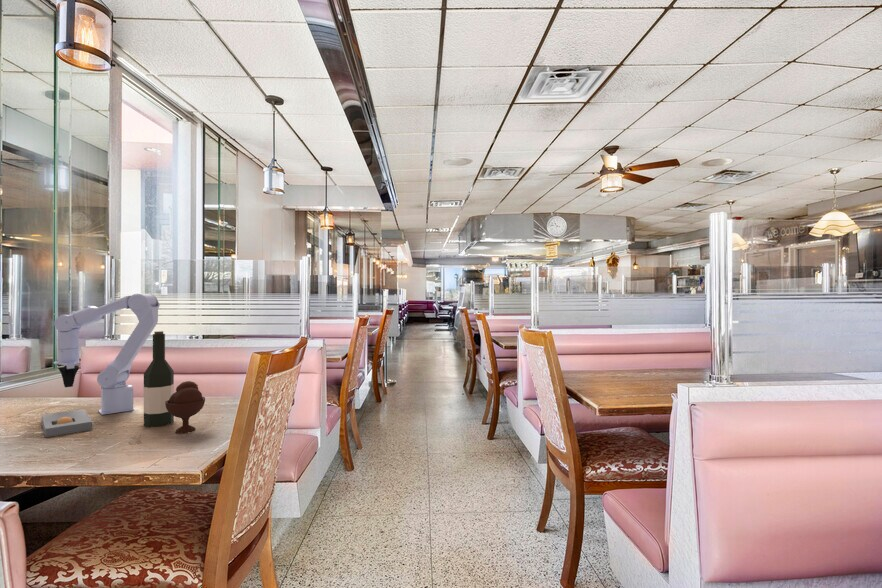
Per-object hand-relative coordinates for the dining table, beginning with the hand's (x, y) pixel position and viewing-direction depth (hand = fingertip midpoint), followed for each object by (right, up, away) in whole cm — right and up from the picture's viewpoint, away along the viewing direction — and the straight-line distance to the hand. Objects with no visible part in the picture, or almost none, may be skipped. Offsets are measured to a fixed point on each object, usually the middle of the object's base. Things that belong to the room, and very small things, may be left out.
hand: (68, 386), depth 160 cm
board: (+12, -9, -16) cm, 22 cm away
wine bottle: (+41, -9, -14) cm, 44 cm away
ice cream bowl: (+54, -9, -22) cm, 59 cm away
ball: (+15, -7, -20) cm, 26 cm away
